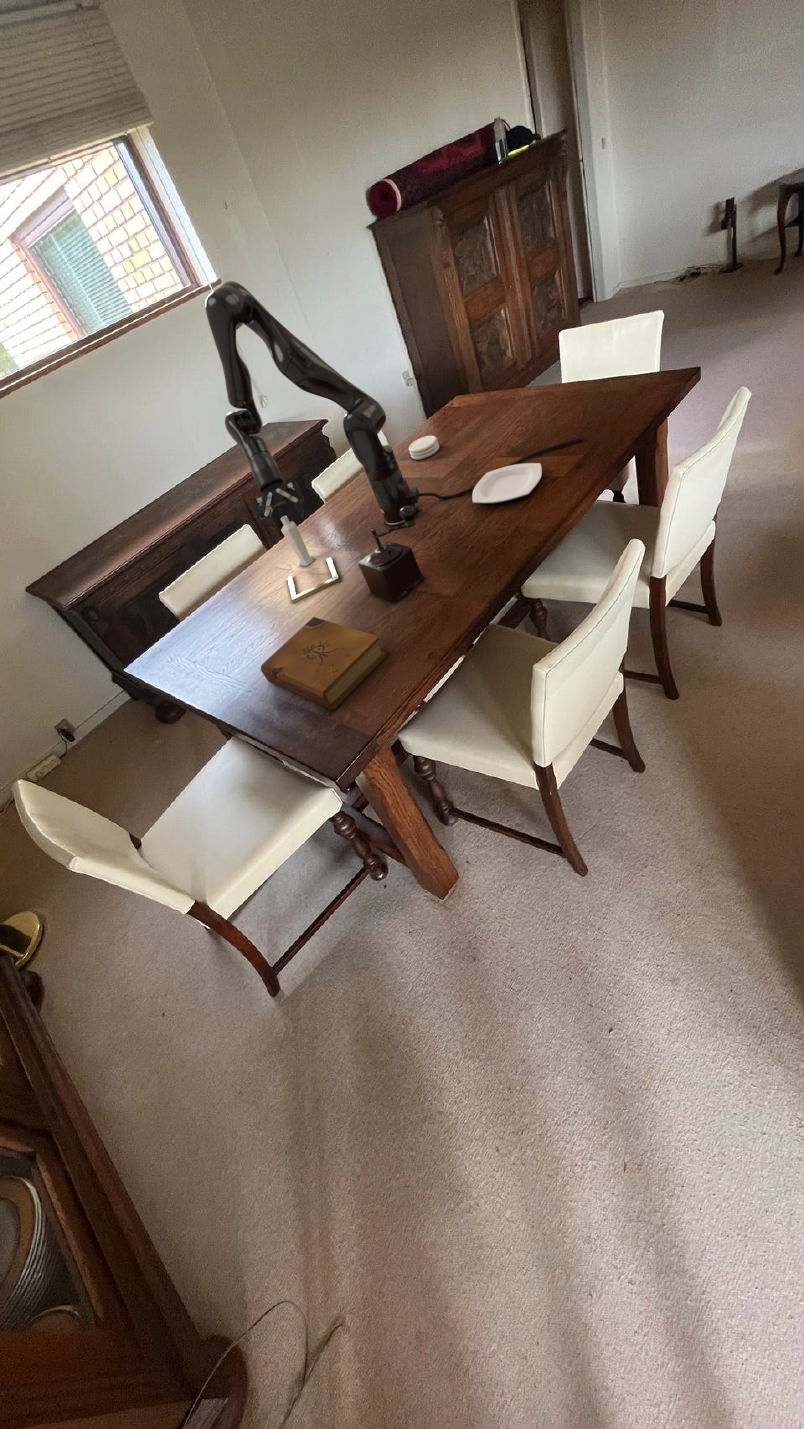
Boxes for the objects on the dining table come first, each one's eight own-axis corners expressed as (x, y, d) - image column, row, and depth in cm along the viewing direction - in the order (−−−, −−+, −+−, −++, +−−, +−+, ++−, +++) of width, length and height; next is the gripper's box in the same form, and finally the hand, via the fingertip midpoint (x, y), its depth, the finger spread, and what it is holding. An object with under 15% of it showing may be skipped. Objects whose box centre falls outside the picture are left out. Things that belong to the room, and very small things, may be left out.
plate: (466, 512, 172) (464, 506, 171) (484, 476, 183) (482, 470, 182) (534, 502, 163) (533, 496, 161) (549, 465, 174) (548, 458, 173)
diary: (270, 685, 148) (258, 667, 144) (323, 634, 155) (313, 616, 151) (331, 712, 133) (320, 693, 129) (387, 655, 140) (377, 635, 136)
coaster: (444, 443, 210) (441, 433, 208) (431, 459, 205) (427, 449, 203) (420, 446, 216) (417, 436, 213) (406, 461, 211) (402, 451, 209)
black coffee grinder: (396, 603, 153) (369, 541, 141) (370, 593, 160) (341, 533, 149) (440, 567, 157) (417, 503, 146) (412, 559, 165) (388, 497, 153)
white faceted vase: (312, 564, 183) (288, 520, 173) (299, 567, 185) (275, 523, 175) (316, 556, 186) (293, 511, 176) (303, 559, 188) (280, 515, 178)
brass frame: (288, 580, 181) (286, 578, 181) (332, 560, 181) (330, 557, 180) (293, 602, 171) (291, 600, 171) (340, 581, 171) (338, 578, 170)
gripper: (239, 478, 178) (262, 528, 177) (284, 456, 177) (307, 507, 176) (248, 488, 186) (269, 537, 185) (291, 467, 185) (313, 516, 184)
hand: (288, 522), depth 181 cm, fingers open, 8 cm apart
